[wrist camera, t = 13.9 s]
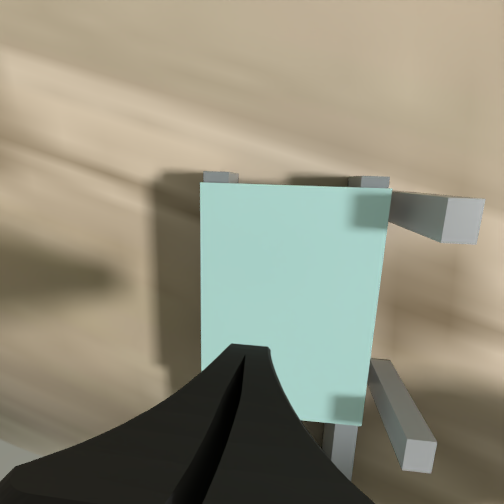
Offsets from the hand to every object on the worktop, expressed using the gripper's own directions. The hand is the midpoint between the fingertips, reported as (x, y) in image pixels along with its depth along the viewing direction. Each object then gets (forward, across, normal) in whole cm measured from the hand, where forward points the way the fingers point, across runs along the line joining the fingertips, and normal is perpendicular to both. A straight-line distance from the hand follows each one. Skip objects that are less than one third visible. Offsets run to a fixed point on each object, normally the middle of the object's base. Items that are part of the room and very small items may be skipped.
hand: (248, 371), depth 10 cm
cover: (+5, -1, 0) cm, 6 cm away
